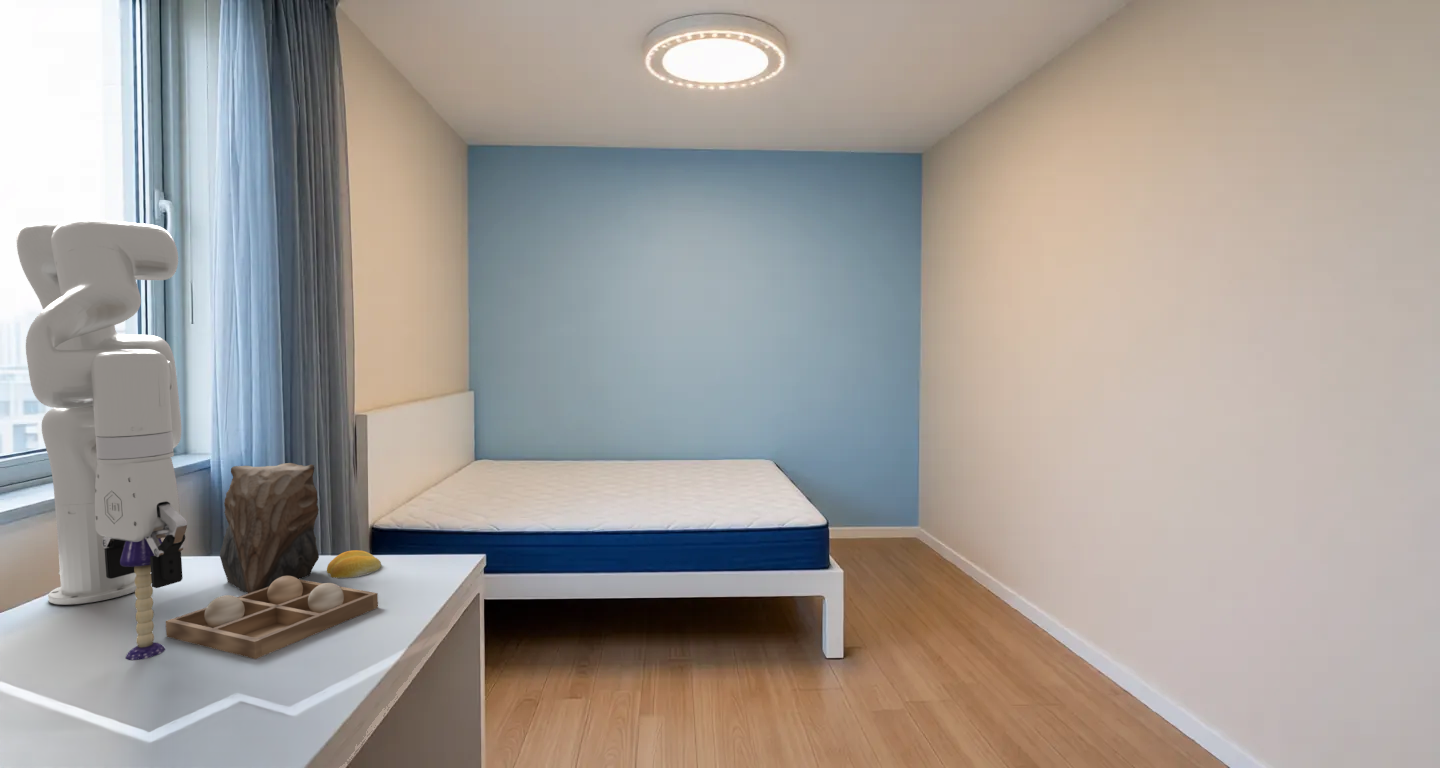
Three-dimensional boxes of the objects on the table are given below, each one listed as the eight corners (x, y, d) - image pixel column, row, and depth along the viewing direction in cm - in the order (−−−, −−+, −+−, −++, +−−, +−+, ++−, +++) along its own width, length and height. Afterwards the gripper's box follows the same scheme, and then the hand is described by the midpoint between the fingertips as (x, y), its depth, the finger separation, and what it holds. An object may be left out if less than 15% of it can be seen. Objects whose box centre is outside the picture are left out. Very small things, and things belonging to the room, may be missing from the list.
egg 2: (261, 609, 105) (259, 579, 105) (290, 599, 110) (288, 570, 109) (281, 614, 104) (280, 583, 103) (310, 603, 108) (309, 573, 107)
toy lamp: (143, 650, 93) (135, 526, 92) (181, 649, 94) (173, 525, 93) (115, 667, 89) (107, 536, 88) (155, 665, 89) (147, 535, 88)
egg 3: (301, 618, 102) (299, 586, 102) (329, 606, 106) (328, 576, 106) (323, 622, 100) (321, 590, 100) (351, 611, 104) (350, 580, 104)
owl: (218, 584, 119) (211, 467, 118) (299, 565, 129) (293, 457, 128) (247, 600, 112) (240, 475, 110) (331, 578, 122) (325, 463, 120)
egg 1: (197, 632, 97) (195, 599, 97) (232, 620, 101) (230, 588, 101) (219, 637, 95) (217, 604, 95) (253, 624, 100) (251, 592, 99)
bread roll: (335, 587, 118) (334, 563, 118) (323, 574, 125) (322, 552, 124) (388, 575, 123) (387, 553, 123) (373, 563, 130) (372, 542, 130)
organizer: (167, 642, 96) (165, 620, 96) (294, 596, 113) (293, 578, 113) (256, 665, 89) (254, 641, 89) (378, 612, 106) (377, 593, 105)
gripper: (61, 449, 90) (70, 581, 91) (142, 455, 83) (151, 598, 84) (130, 441, 96) (138, 563, 97) (210, 446, 90) (217, 578, 91)
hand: (144, 579), depth 91 cm, fingers open, 9 cm apart
